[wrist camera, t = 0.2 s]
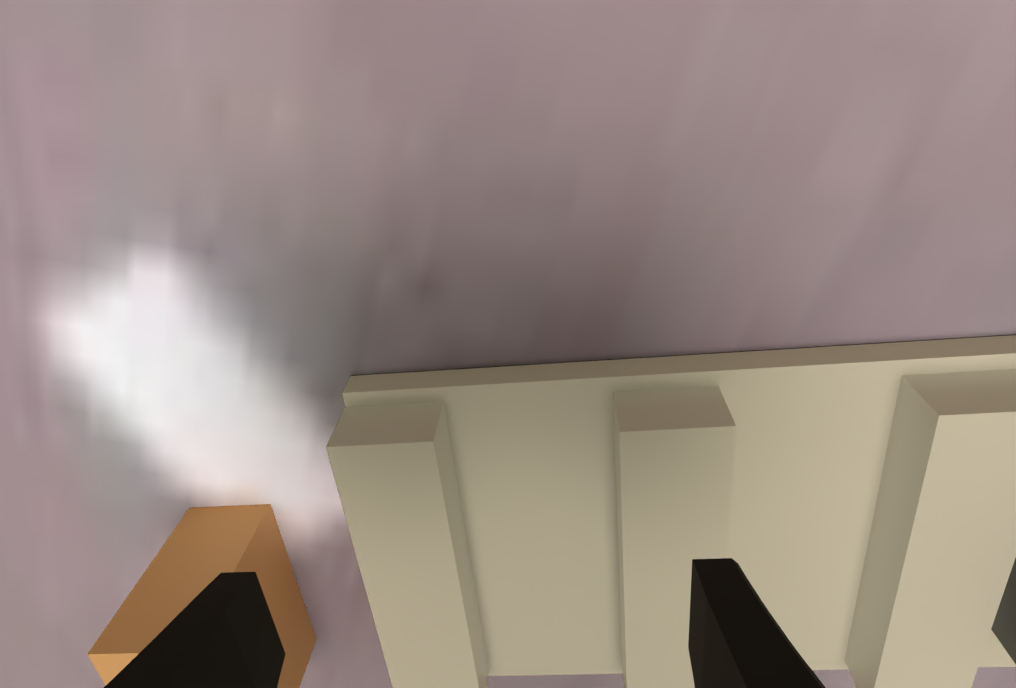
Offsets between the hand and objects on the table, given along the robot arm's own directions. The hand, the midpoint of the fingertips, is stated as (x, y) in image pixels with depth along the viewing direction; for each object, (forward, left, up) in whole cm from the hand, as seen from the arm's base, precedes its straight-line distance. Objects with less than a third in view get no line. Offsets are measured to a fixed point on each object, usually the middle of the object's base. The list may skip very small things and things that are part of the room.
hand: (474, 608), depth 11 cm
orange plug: (-9, +11, -10) cm, 17 cm away
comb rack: (-7, -8, -10) cm, 15 cm away
